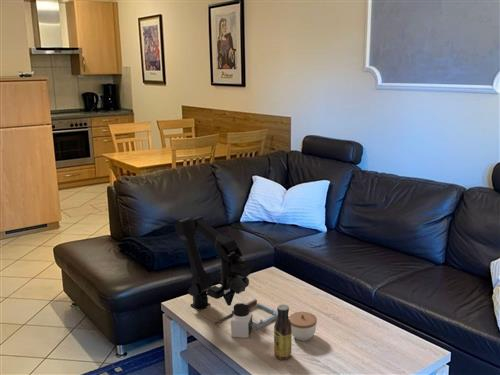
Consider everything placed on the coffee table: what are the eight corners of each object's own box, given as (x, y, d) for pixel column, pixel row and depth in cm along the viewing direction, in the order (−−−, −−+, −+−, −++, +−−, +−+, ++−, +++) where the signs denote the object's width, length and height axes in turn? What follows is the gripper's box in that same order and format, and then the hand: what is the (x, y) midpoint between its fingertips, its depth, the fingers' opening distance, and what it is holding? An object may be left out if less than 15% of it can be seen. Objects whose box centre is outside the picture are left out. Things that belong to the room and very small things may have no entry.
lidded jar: (319, 331, 192) (319, 309, 189) (313, 346, 182) (313, 323, 180) (292, 327, 195) (292, 305, 193) (285, 341, 186) (285, 319, 183)
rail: (214, 323, 199) (214, 322, 199) (253, 303, 215) (253, 302, 214) (215, 324, 199) (215, 322, 198) (254, 304, 214) (254, 302, 214)
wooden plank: (232, 315, 204) (231, 310, 204) (255, 303, 214) (255, 299, 213) (233, 316, 204) (233, 311, 203) (256, 304, 213) (256, 299, 213)
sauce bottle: (273, 351, 179) (272, 302, 174) (289, 350, 180) (289, 301, 175) (275, 362, 173) (275, 311, 168) (292, 361, 173) (293, 310, 168)
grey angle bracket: (235, 318, 203) (235, 312, 202) (258, 306, 213) (258, 300, 212) (257, 329, 194) (257, 323, 194) (280, 315, 204) (280, 310, 203)
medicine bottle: (249, 338, 188) (248, 310, 185) (231, 336, 189) (230, 308, 186) (252, 328, 195) (252, 301, 192) (235, 327, 196) (234, 300, 193)
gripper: (224, 283, 185) (226, 320, 189) (258, 268, 198) (259, 303, 202) (205, 275, 193) (207, 311, 197) (239, 261, 206) (240, 295, 210)
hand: (229, 305), depth 201 cm, fingers closed
